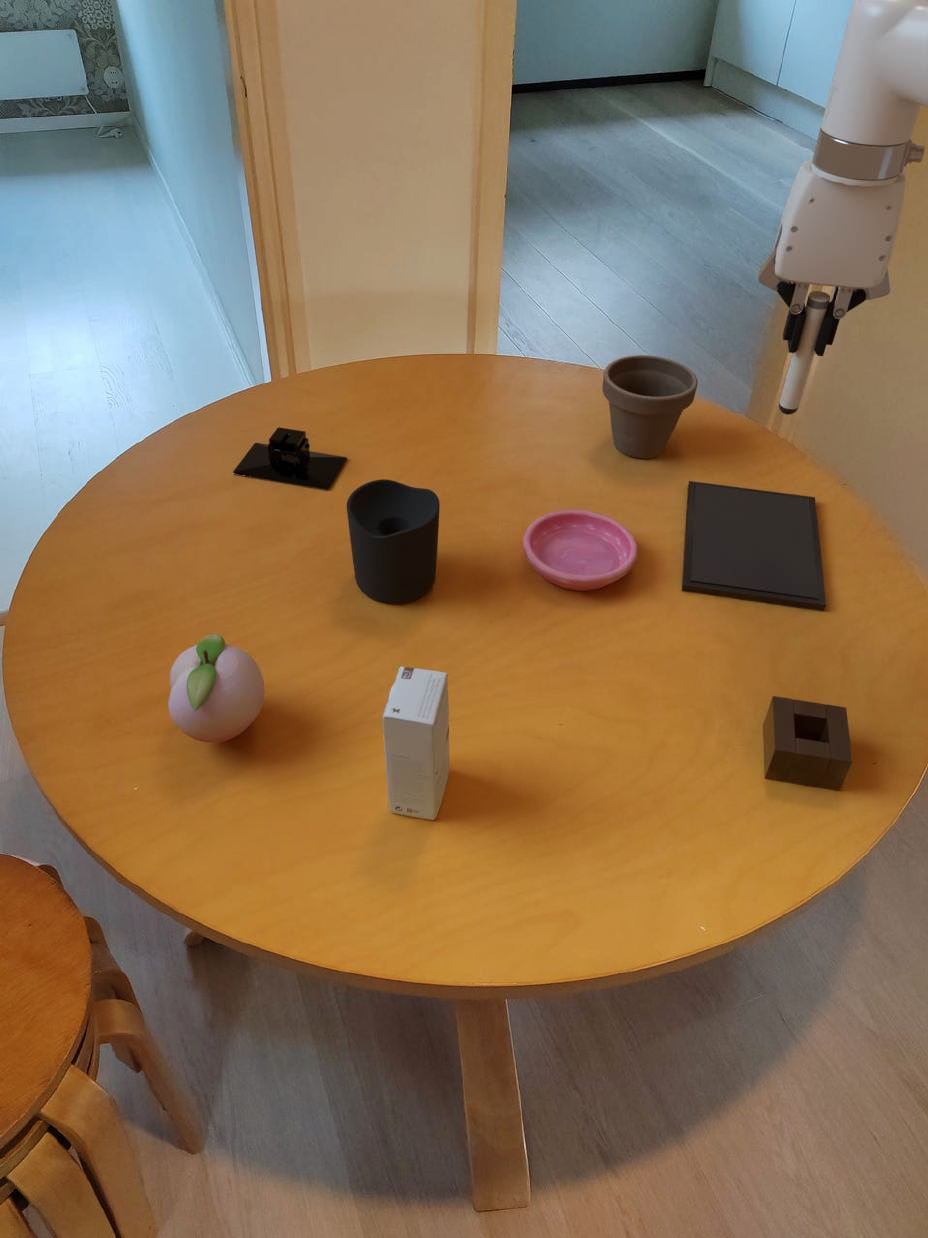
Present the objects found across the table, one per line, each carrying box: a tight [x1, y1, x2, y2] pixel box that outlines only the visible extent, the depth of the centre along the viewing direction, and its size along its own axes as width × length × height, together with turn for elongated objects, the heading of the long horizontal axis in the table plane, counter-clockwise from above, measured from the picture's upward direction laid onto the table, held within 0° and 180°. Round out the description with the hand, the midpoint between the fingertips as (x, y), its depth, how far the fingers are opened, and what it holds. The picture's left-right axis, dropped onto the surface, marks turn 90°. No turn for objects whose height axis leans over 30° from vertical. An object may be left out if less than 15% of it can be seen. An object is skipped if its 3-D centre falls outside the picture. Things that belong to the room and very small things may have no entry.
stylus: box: [778, 290, 831, 415], centre depth 99 cm, size 2×2×13 cm
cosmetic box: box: [382, 666, 451, 821], centre depth 82 cm, size 6×4×12 cm
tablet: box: [681, 480, 827, 612], centre depth 112 cm, size 15×20×1 cm
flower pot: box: [602, 354, 699, 459], centre depth 124 cm, size 12×11×10 cm
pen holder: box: [346, 478, 441, 605], centre depth 103 cm, size 9×9×10 cm
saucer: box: [522, 509, 638, 591], centre depth 108 cm, size 12×12×3 cm
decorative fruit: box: [167, 633, 266, 744], centre depth 87 cm, size 9×8×10 cm
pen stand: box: [762, 695, 853, 792], centre depth 88 cm, size 6×6×4 cm
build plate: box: [232, 426, 348, 491], centre depth 121 cm, size 12×7×5 cm, turn 76°
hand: (805, 346), depth 99 cm, fingers closed on stylus, 2 cm apart
